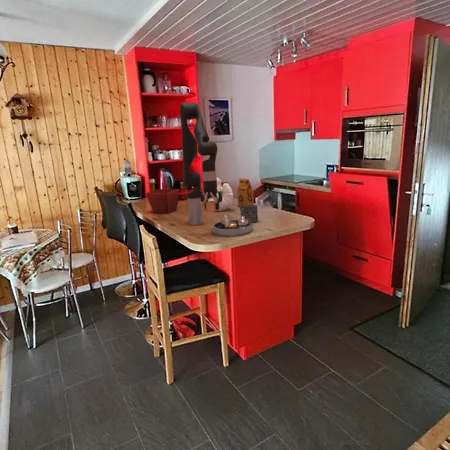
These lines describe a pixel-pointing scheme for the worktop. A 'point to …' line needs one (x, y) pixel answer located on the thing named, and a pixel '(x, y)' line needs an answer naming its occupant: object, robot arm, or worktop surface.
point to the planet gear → (211, 206)
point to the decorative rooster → (224, 195)
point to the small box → (249, 213)
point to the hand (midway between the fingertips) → (212, 209)
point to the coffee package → (245, 193)
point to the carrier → (232, 227)
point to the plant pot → (163, 200)
